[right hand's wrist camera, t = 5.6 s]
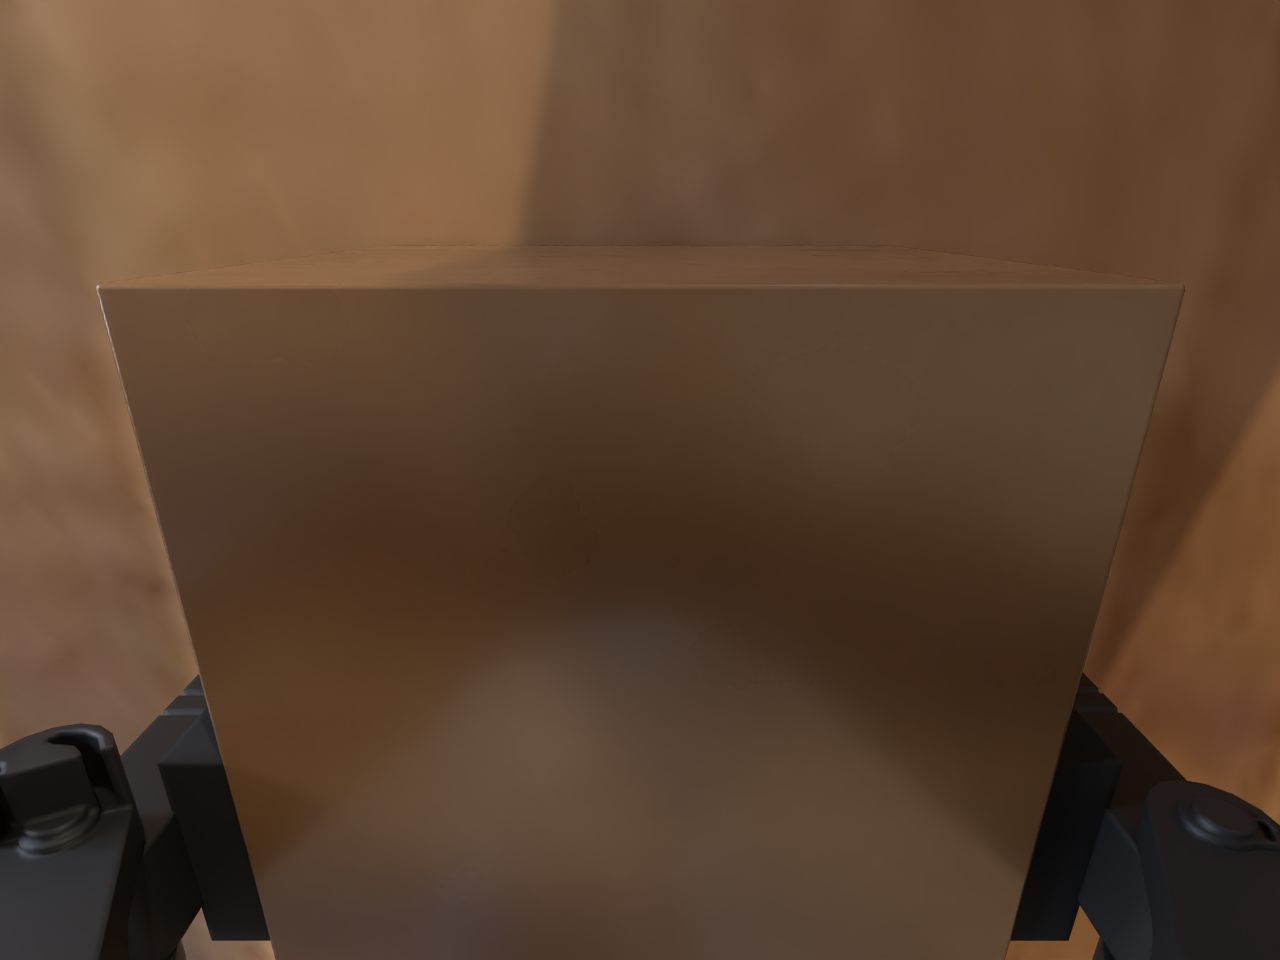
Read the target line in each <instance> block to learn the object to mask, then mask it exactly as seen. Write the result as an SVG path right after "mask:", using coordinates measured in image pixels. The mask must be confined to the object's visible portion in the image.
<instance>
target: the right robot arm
mask: <svg viewBox="0 0 1280 960" xmlns="http://www.w3.org/2000/svg"><path fill="white" fill-rule="evenodd" d="M1079 905H1080V906H1081V907H1082V909H1083V910H1084V912H1085V914H1086V915H1087V917H1088V918H1089V920H1090V921H1091V923H1092V925H1093V926H1094V928H1095V929H1096V931H1097V932H1098V934H1099V936H1100V938H1099V941H1098V944H1097V947H1096V950H1095V953H1094V956H1093V959H1092V960H1280V825H1278V824H1277V823H1276V822H1275V821H1274V820H1272V819H1271V818H1270V817H1269V816H1268V815H1266V814H1265V813H1264V812H1263V811H1262V810H1260V809H1258V808H1256V807H1255V806H1253V805H1251V804H1249V803H1248V802H1246V801H1244V800H1242V799H1241V798H1239V797H1237V796H1235V795H1233V794H1231V793H1228V792H1225V791H1223V790H1220V789H1217V788H1215V787H1212V786H1209V785H1207V784H1202V783H1196V782H1190V781H1187V780H1186V779H1185V778H1184V777H1183V776H1182V775H1181V774H1180V773H1179V772H1178V771H1177V770H1176V769H1175V768H1174V767H1173V766H1172V765H1171V764H1170V762H1169V761H1168V760H1167V759H1166V758H1165V757H1164V756H1163V755H1162V754H1161V753H1160V752H1159V751H1158V750H1157V749H1156V748H1155V747H1154V746H1153V745H1152V744H1151V743H1150V742H1149V741H1148V740H1147V739H1146V738H1145V737H1144V735H1143V734H1142V733H1141V732H1140V731H1139V730H1138V729H1137V728H1136V727H1135V726H1134V725H1133V724H1132V723H1131V722H1130V721H1129V720H1128V719H1127V718H1126V717H1125V716H1124V715H1123V714H1122V713H1118V712H1117V707H1116V706H1115V705H1114V704H1113V703H1112V702H1111V701H1110V700H1109V699H1108V698H1107V697H1106V696H1105V695H1104V694H1103V693H1099V691H1098V688H1097V687H1096V686H1095V685H1094V684H1093V683H1092V681H1091V680H1090V679H1089V678H1088V677H1087V676H1086V675H1085V674H1084V673H1083V672H1082V675H1081V678H1080V682H1079V686H1078V690H1077V693H1076V697H1075V701H1074V705H1073V708H1072V712H1071V716H1070V719H1069V723H1068V727H1067V731H1066V734H1065V738H1064V742H1063V745H1062V749H1061V753H1060V757H1059V760H1058V764H1057V768H1056V771H1055V775H1054V779H1053V783H1052V786H1051V790H1050V794H1049V798H1048V801H1047V805H1046V809H1045V812H1044V816H1043V820H1042V824H1041V827H1040V831H1039V835H1038V838H1037V842H1036V846H1035V850H1034V853H1033V857H1032V861H1031V864H1030V868H1029V872H1028V876H1027V879H1026V883H1025V887H1024V891H1023V894H1022V898H1021V902H1020V905H1019V909H1018V913H1017V917H1016V920H1015V924H1014V928H1013V931H1012V935H1011V939H1010V941H1069V938H1070V934H1071V931H1072V928H1073V925H1074V921H1075V918H1076V915H1077V912H1078V909H1079ZM201 907H202V910H203V913H204V917H205V920H206V923H207V926H208V929H209V933H210V936H211V939H212V941H270V937H269V933H268V929H267V926H266V922H265V918H264V914H263V911H262V907H261V903H260V900H259V896H258V892H257V888H256V885H255V881H254V877H253V873H252V870H251V866H250V862H249V859H248V855H247V851H246V847H245V844H244V840H243V836H242V832H241V829H240V825H239V821H238V817H237V814H236V810H235V806H234V803H233V799H232V795H231V791H230V788H229V784H228V780H227V776H226V773H225V769H224V765H223V762H222V758H221V754H220V750H219V747H218V743H217V739H216V735H215V732H214V728H213V724H212V721H211V717H210V713H209V709H208V706H207V702H206V698H205V694H204V691H203V687H202V683H201V680H200V676H199V675H198V676H197V677H196V678H195V679H194V680H193V681H192V682H191V683H190V684H189V685H188V686H187V687H186V688H185V689H184V690H183V694H182V696H178V697H177V698H176V699H175V700H174V701H173V702H172V703H171V704H170V705H169V706H168V707H167V708H166V709H165V710H164V715H163V716H158V717H157V718H156V720H155V721H154V722H153V723H152V724H151V725H150V726H149V727H148V728H147V729H146V730H145V731H144V732H143V733H142V734H141V735H140V736H139V737H138V738H137V739H136V740H135V741H134V743H133V744H132V745H131V746H130V747H129V748H128V749H127V750H126V751H125V752H124V753H123V754H122V755H121V756H120V755H119V752H118V749H117V746H116V743H115V740H114V737H113V734H112V733H111V732H109V731H108V730H106V729H105V728H103V727H102V726H100V725H89V724H74V725H68V726H61V727H55V728H51V729H48V730H45V731H42V732H39V733H36V734H33V735H30V736H27V737H24V738H22V739H20V740H18V741H16V742H14V743H12V744H10V745H8V746H6V747H4V748H2V749H0V960H186V956H185V950H184V947H183V944H182V941H181V938H182V937H183V935H184V934H185V932H186V931H187V929H188V927H189V926H190V924H191V923H192V921H193V920H194V918H195V916H196V915H197V913H198V912H199V910H200V908H201Z"/></svg>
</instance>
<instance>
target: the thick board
mask: <svg viewBox="0 0 1280 960" xmlns="http://www.w3.org/2000/svg"><path fill="white" fill-rule="evenodd" d="M96 292H97V295H98V299H99V303H100V307H101V310H102V314H103V318H104V322H105V325H106V329H107V333H108V337H109V340H110V344H111V348H112V351H113V355H114V359H115V363H116V366H117V370H118V374H119V378H120V381H121V385H122V389H123V392H124V396H125V400H126V404H127V407H128V411H129V415H130V419H131V422H132V426H133V430H134V433H135V437H136V441H137V445H138V448H139V452H140V456H141V460H142V463H143V467H144V471H145V474H146V478H147V482H148V486H149V489H150V493H151V497H152V501H153V504H154V508H155V512H156V515H157V519H158V523H159V527H160V530H161V534H162V538H163V542H164V545H165V549H166V553H167V556H168V560H169V564H170V568H171V571H172V575H173V579H174V583H175V586H176V590H177V594H178V598H179V601H180V605H181V609H182V612H183V616H184V620H185V624H186V627H187V631H188V635H189V639H190V642H191V646H192V650H193V653H194V657H195V661H196V665H197V668H198V672H199V676H200V680H201V683H202V687H203V691H204V694H205V698H206V702H207V706H208V709H209V713H210V717H211V721H212V724H213V728H214V732H215V735H216V739H217V743H218V747H219V750H220V754H221V758H222V762H223V765H224V769H225V773H226V776H227V780H228V784H229V788H230V791H231V795H232V799H233V803H234V806H235V810H236V814H237V817H238V821H239V825H240V829H241V832H242V836H243V840H244V844H245V847H246V851H247V855H248V859H249V862H250V866H251V870H252V873H253V877H254V881H255V885H256V888H257V892H258V896H259V900H260V903H261V907H262V911H263V914H264V918H265V922H266V926H267V929H268V933H269V937H270V941H271V944H272V948H273V952H274V955H275V959H276V960H1005V958H1006V954H1007V950H1008V946H1009V943H1010V939H1011V935H1012V931H1013V928H1014V924H1015V920H1016V917H1017V913H1018V909H1019V905H1020V902H1021V898H1022V894H1023V891H1024V887H1025V883H1026V879H1027V876H1028V872H1029V868H1030V864H1031V861H1032V857H1033V853H1034V850H1035V846H1036V842H1037V838H1038V835H1039V831H1040V827H1041V824H1042V820H1043V816H1044V812H1045V809H1046V805H1047V801H1048V798H1049V794H1050V790H1051V786H1052V783H1053V779H1054V775H1055V771H1056V768H1057V764H1058V760H1059V757H1060V753H1061V749H1062V745H1063V742H1064V738H1065V734H1066V731H1067V727H1068V723H1069V719H1070V716H1071V712H1072V708H1073V705H1074V701H1075V697H1076V693H1077V690H1078V686H1079V682H1080V678H1081V675H1082V671H1083V667H1084V664H1085V660H1086V656H1087V652H1088V649H1089V645H1090V641H1091V638H1092V634H1093V630H1094V626H1095V623H1096V619H1097V615H1098V611H1099V608H1100V604H1101V600H1102V597H1103V593H1104V589H1105V585H1106V582H1107V578H1108V574H1109V571H1110V567H1111V563H1112V559H1113V556H1114V552H1115V548H1116V545H1117V541H1118V537H1119V533H1120V530H1121V526H1122V522H1123V518H1124V515H1125V511H1126V507H1127V504H1128V500H1129V496H1130V492H1131V489H1132V485H1133V481H1134V478H1135V474H1136V470H1137V466H1138V463H1139V459H1140V455H1141V452H1142V448H1143V444H1144V440H1145V437H1146V433H1147V429H1148V425H1149V422H1150V418H1151V414H1152V411H1153V407H1154V403H1155V399H1156V396H1157V392H1158V388H1159V385H1160V381H1161V377H1162V373H1163V370H1164V366H1165V362H1166V359H1167V355H1168V351H1169V347H1170V344H1171V340H1172V336H1173V332H1174V329H1175V325H1176V321H1177V318H1178V314H1179V310H1180V306H1181V303H1182V299H1183V295H1184V292H1185V286H1184V285H1182V284H1180V283H1175V282H1167V281H1160V280H1152V279H1144V278H1136V277H1129V276H1121V275H1113V274H1106V273H1098V272H1090V271H1083V270H1075V269H1067V268H1060V267H1052V266H1044V265H1037V264H1029V263H1021V262H1014V261H1006V260H998V259H991V258H983V257H975V256H968V255H960V254H952V253H944V252H937V251H929V250H921V249H914V248H906V247H898V246H382V247H374V248H367V249H359V250H351V251H343V252H336V253H328V254H320V255H313V256H305V257H297V258H290V259H282V260H274V261H267V262H259V263H251V264H244V265H236V266H228V267H221V268H213V269H205V270H197V271H190V272H182V273H174V274H167V275H159V276H151V277H144V278H136V279H128V280H121V281H113V282H105V283H101V284H99V285H97V286H96Z"/></svg>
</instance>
